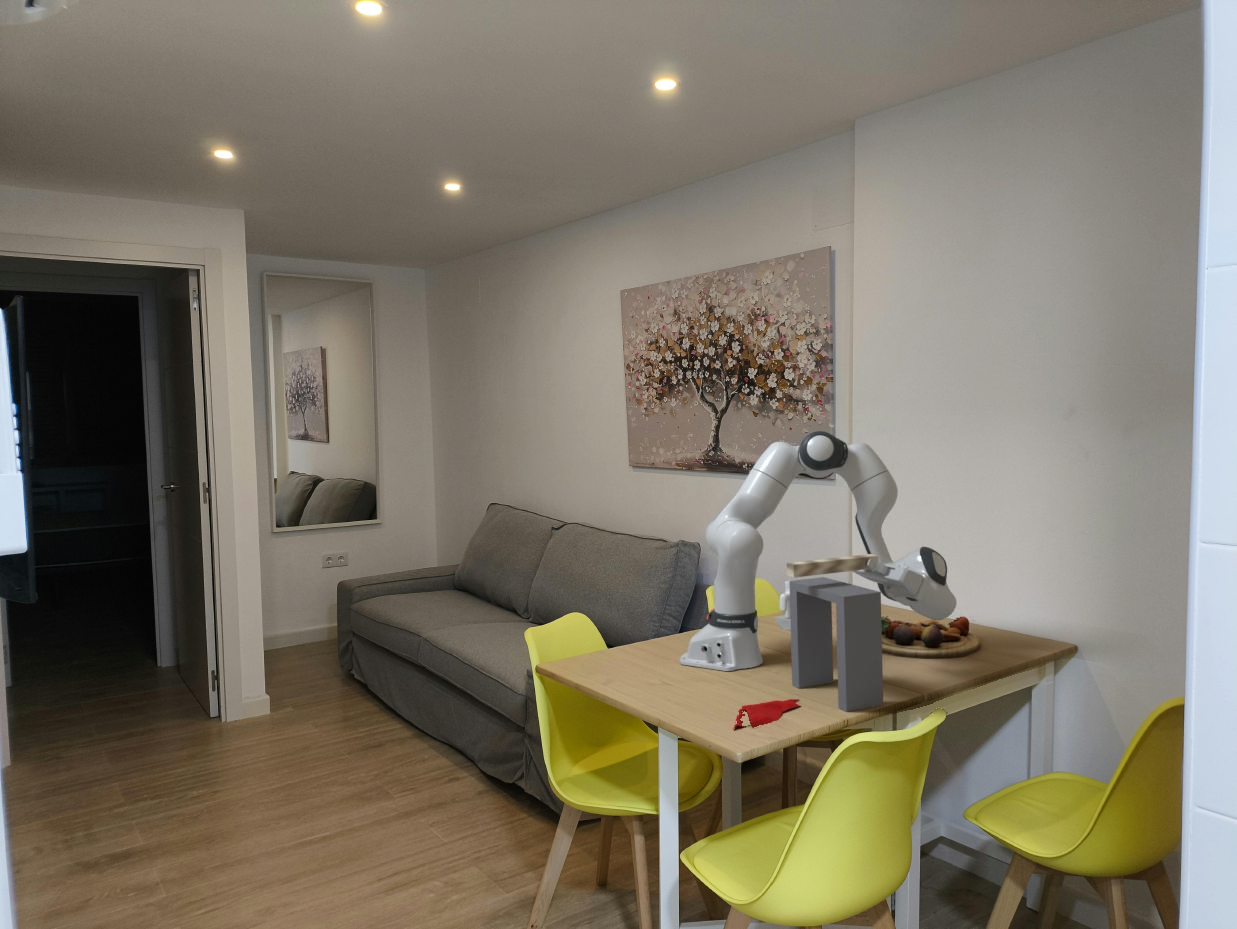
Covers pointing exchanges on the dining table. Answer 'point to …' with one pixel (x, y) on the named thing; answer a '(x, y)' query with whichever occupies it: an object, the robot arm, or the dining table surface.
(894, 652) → the wooden plate with food
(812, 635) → the grey arch
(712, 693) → the dining table surface
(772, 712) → the cloth
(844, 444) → the robot arm
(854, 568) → the maple bar
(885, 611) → the dining table surface
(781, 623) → the figurine
